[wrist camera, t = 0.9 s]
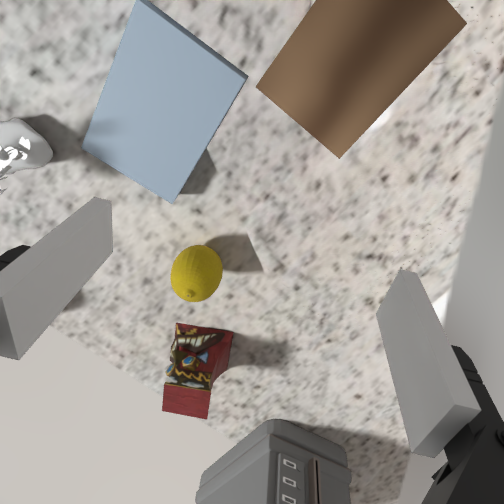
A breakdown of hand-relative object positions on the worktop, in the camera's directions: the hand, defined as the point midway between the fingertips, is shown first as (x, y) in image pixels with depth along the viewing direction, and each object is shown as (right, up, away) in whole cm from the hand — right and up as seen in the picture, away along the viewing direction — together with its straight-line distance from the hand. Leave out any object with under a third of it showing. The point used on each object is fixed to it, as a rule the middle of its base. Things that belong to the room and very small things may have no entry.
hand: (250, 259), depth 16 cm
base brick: (-8, +14, +18) cm, 24 cm away
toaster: (+4, -40, +51) cm, 65 cm away
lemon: (-6, 0, +26) cm, 27 cm away
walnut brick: (+8, +17, +14) cm, 23 cm away
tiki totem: (-7, -14, +35) cm, 39 cm away
